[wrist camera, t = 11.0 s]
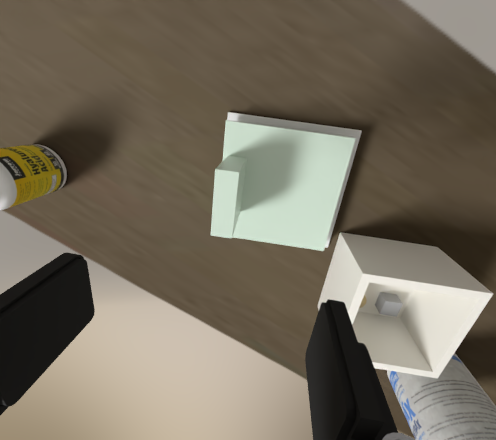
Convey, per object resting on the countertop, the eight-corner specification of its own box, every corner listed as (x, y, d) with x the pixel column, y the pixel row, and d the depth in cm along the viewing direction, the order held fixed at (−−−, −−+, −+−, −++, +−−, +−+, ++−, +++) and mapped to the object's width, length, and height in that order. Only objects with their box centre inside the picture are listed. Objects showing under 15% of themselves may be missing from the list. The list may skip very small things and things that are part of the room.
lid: (349, 136, 25) (382, 147, 17) (320, 242, 29) (336, 286, 22) (229, 119, 25) (211, 123, 18) (220, 226, 30) (202, 265, 22)
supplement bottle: (76, 164, 29) (-14, 188, 20) (59, 199, 31) (-29, 236, 22) (31, 132, 28) (-85, 143, 19) (17, 170, 30) (-94, 197, 21)
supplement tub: (371, 360, 37) (428, 506, 23) (433, 329, 33) (541, 476, 20) (409, 395, 39) (481, 546, 25) (471, 368, 36) (592, 525, 22)
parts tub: (437, 246, 29) (493, 293, 21) (401, 319, 33) (437, 378, 26) (340, 232, 29) (362, 273, 22) (317, 305, 34) (329, 360, 26)
